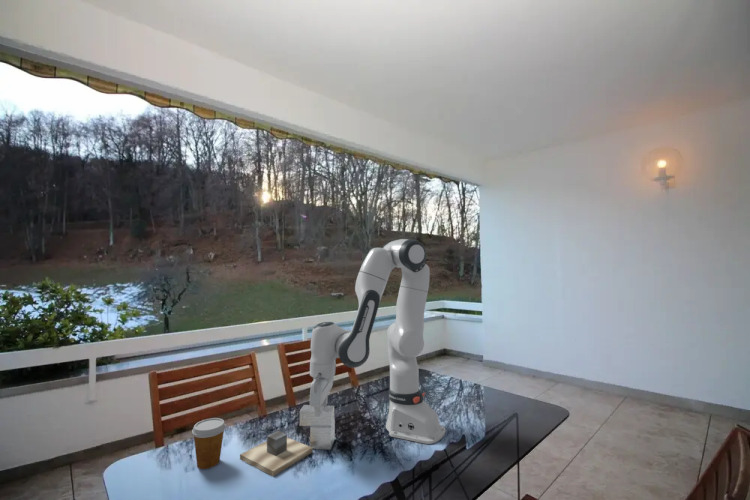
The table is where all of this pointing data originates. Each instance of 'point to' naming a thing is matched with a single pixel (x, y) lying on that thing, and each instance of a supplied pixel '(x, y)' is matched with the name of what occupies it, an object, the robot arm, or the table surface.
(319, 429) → the grey stepped block
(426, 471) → the table surface
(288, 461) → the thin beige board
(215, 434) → the disposable coffee cup
